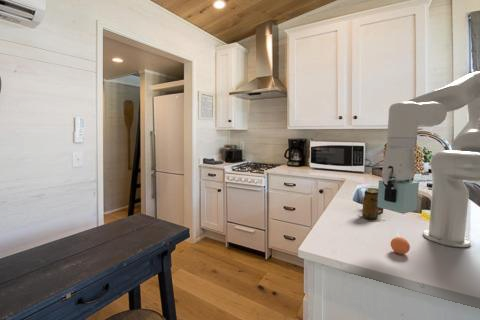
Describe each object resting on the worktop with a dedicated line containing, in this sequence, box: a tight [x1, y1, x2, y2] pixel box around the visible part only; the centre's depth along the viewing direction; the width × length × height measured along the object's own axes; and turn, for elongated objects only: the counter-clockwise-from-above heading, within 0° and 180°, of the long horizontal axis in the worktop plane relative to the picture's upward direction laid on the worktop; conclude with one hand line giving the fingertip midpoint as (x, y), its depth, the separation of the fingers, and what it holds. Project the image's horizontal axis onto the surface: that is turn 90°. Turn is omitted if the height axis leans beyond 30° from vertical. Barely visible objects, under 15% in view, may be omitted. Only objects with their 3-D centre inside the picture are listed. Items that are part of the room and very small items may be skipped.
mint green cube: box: [377, 178, 420, 215], centre depth 73 cm, size 8×8×9 cm
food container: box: [367, 188, 384, 215], centre depth 113 cm, size 12×6×10 cm, turn 168°
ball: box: [390, 236, 411, 255], centre depth 73 cm, size 5×5×5 cm
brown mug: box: [357, 189, 385, 222], centre depth 104 cm, size 7×8×12 cm
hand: (397, 199), depth 73 cm, fingers closed on mint green cube, 7 cm apart
